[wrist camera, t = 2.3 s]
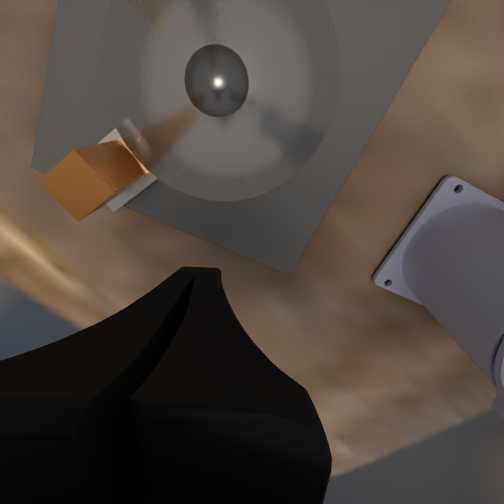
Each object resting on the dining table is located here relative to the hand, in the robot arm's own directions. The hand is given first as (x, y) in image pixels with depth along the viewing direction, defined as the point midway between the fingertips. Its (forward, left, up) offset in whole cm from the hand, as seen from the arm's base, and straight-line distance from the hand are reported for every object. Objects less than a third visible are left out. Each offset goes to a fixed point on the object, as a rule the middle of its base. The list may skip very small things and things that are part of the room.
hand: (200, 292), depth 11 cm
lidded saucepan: (+3, -5, -8) cm, 10 cm away
